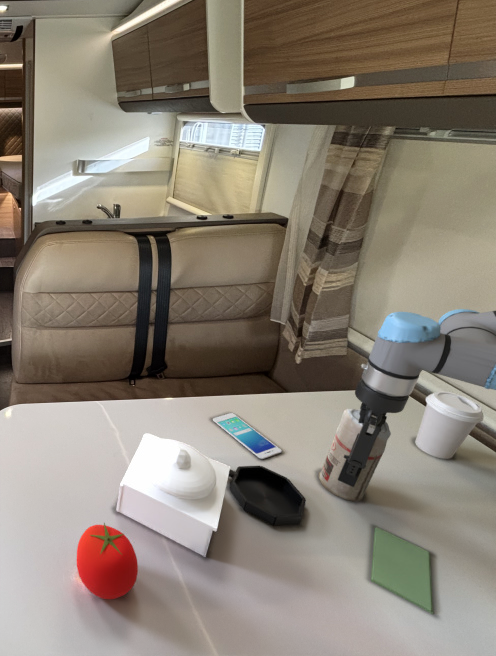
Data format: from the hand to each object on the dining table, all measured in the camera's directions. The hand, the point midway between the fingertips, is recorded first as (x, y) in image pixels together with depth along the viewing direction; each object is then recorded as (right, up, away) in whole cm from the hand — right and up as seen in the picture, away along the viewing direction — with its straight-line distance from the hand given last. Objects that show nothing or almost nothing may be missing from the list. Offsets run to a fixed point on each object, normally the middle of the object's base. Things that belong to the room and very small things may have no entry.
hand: (348, 469), depth 93 cm
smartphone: (-12, +1, +17) cm, 21 cm away
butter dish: (-40, -7, -1) cm, 41 cm away
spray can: (0, -5, +3) cm, 6 cm away
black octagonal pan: (-22, -5, +2) cm, 23 cm away
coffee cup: (+31, -1, +12) cm, 34 cm away
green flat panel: (-2, -12, -14) cm, 19 cm away
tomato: (-58, -13, -15) cm, 62 cm away
